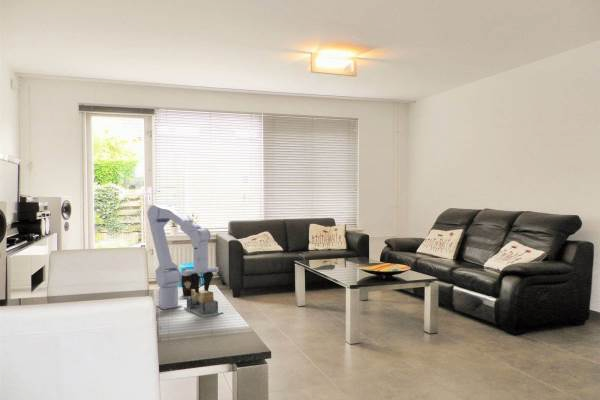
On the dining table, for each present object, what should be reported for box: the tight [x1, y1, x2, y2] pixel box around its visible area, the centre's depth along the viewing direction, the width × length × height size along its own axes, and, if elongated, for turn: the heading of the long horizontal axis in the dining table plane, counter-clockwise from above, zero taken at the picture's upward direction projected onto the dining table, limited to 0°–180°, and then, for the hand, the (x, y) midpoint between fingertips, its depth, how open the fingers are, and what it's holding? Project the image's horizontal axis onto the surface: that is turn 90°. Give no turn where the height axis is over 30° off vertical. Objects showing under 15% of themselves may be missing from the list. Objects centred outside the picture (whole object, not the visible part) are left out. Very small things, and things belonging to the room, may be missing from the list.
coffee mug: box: [180, 273, 204, 297], centre depth 225 cm, size 12×9×10 cm
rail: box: [190, 288, 215, 303], centre depth 189 cm, size 14×4×4 cm, turn 36°
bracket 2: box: [199, 299, 219, 315], centre depth 184 cm, size 4×6×4 cm, turn 126°
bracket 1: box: [186, 296, 199, 309], centre depth 194 cm, size 4×6×4 cm, turn 126°
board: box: [183, 306, 224, 318], centre depth 189 cm, size 19×8×1 cm, turn 36°
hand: (201, 291), depth 189 cm, fingers closed on rail, 3 cm apart
